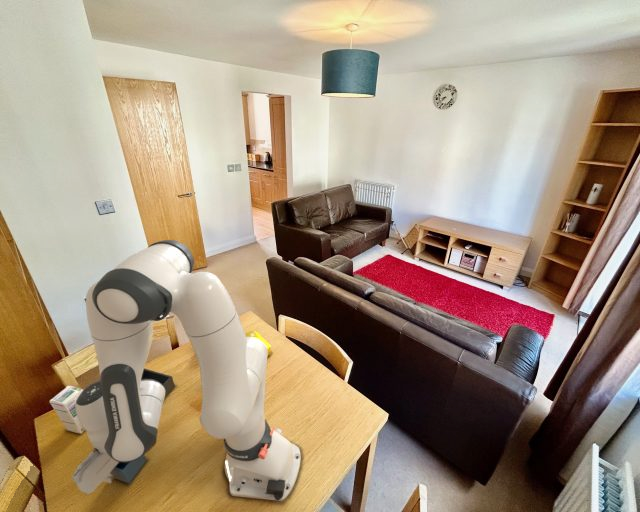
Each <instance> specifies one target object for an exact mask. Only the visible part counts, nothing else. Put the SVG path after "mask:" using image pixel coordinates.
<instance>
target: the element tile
mask: <svg viewBox="0 0 640 512" xmlns="http://www.w3.org/2000/svg"><path fill="white" fill-rule="evenodd" d="M245 335H246V337H254V338H257V339H259V340H261V341H262V342H263V343H264V344H265V345H266V347H267V350H268V356H267V358H269V356H270V355H271V352H272V351H271V345H270V343H268V342H267V340H266V339H265V338H264V337H262V336H261V334H260V333H258V332H257V331H255V330H251V331H248V332H247V333H245Z"/></svg>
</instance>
